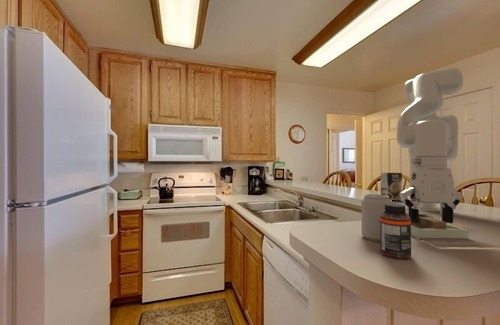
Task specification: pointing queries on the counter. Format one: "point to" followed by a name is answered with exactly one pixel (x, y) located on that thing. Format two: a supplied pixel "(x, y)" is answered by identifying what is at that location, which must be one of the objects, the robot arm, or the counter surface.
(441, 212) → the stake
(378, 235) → the can
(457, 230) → the tray
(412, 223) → the brown wooden block
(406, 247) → the supplement bottle
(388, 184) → the coffee box
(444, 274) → the counter surface
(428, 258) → the counter surface
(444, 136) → the robot arm
